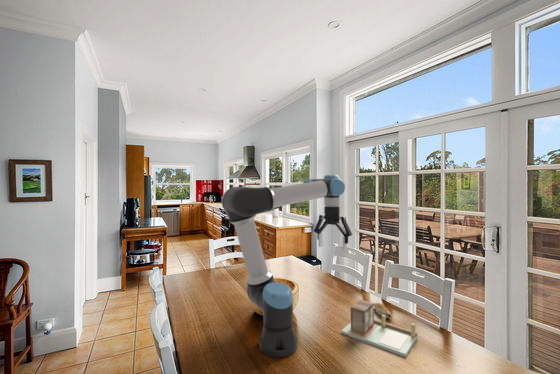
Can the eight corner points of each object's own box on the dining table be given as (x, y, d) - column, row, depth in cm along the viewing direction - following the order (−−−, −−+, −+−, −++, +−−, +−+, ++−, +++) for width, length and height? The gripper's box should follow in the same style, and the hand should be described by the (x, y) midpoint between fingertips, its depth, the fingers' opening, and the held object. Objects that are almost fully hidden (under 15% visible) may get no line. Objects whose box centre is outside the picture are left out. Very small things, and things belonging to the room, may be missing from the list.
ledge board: (417, 338, 113) (417, 323, 113) (405, 357, 101) (405, 340, 101) (357, 318, 130) (357, 305, 130) (341, 333, 118) (341, 318, 118)
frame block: (364, 335, 113) (364, 311, 113) (350, 330, 117) (350, 307, 117) (373, 325, 121) (373, 303, 121) (360, 321, 125) (360, 299, 125)
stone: (380, 307, 142) (380, 298, 142) (394, 320, 128) (394, 311, 128) (370, 307, 142) (370, 299, 142) (383, 321, 127) (383, 312, 127)
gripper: (358, 206, 133) (359, 250, 133) (314, 204, 149) (315, 243, 149) (351, 207, 127) (352, 253, 127) (307, 205, 143) (307, 246, 143)
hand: (332, 248), depth 138 cm, fingers open, 13 cm apart
